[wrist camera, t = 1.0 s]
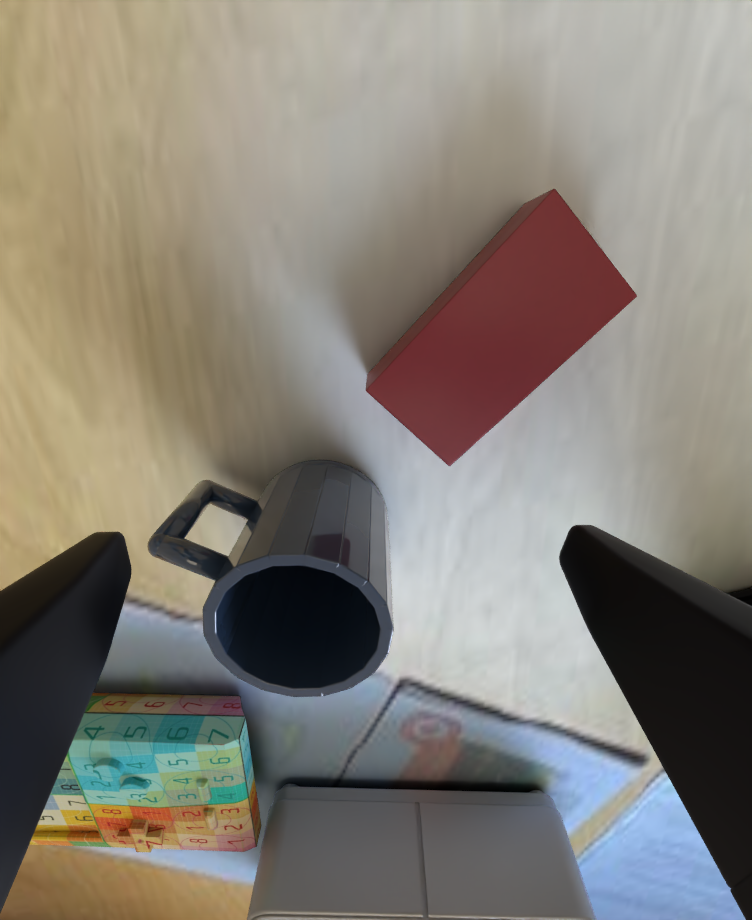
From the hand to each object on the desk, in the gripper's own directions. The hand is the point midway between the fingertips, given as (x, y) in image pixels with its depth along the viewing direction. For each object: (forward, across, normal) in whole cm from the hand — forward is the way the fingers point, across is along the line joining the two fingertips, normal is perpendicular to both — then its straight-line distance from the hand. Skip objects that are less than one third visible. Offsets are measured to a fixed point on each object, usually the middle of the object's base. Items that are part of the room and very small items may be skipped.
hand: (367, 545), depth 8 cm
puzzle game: (+13, +13, +28) cm, 34 cm away
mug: (+12, +1, +8) cm, 15 cm away
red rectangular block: (+12, -6, -2) cm, 14 cm away
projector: (+8, -8, +39) cm, 41 cm away
